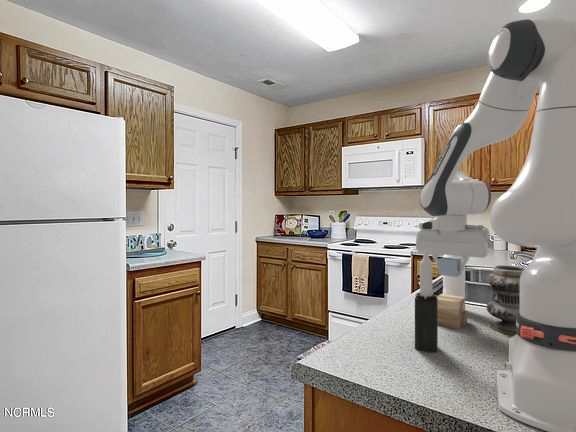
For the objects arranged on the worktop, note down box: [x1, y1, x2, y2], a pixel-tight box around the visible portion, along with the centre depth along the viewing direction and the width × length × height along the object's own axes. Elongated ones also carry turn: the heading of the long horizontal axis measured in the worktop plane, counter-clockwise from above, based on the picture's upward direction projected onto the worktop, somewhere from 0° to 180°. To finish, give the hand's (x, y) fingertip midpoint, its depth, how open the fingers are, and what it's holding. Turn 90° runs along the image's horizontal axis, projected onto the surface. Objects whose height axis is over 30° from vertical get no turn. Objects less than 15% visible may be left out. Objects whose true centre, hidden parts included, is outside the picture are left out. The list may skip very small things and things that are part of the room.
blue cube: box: [438, 256, 461, 277], centre depth 106 cm, size 5×5×5 cm
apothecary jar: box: [485, 264, 526, 336], centre depth 100 cm, size 12×12×18 cm
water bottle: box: [442, 254, 466, 298], centre depth 120 cm, size 7×7×25 cm
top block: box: [436, 293, 466, 316], centre depth 107 cm, size 7×7×4 cm
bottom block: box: [438, 309, 468, 330], centre depth 107 cm, size 8×8×4 cm
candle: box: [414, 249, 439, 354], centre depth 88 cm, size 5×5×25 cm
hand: (450, 269), depth 106 cm, fingers closed on blue cube, 5 cm apart
